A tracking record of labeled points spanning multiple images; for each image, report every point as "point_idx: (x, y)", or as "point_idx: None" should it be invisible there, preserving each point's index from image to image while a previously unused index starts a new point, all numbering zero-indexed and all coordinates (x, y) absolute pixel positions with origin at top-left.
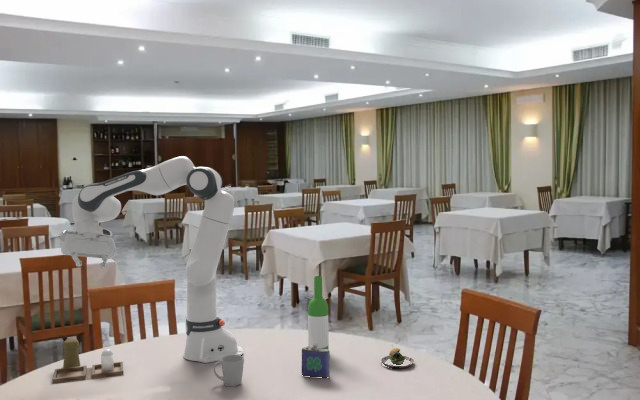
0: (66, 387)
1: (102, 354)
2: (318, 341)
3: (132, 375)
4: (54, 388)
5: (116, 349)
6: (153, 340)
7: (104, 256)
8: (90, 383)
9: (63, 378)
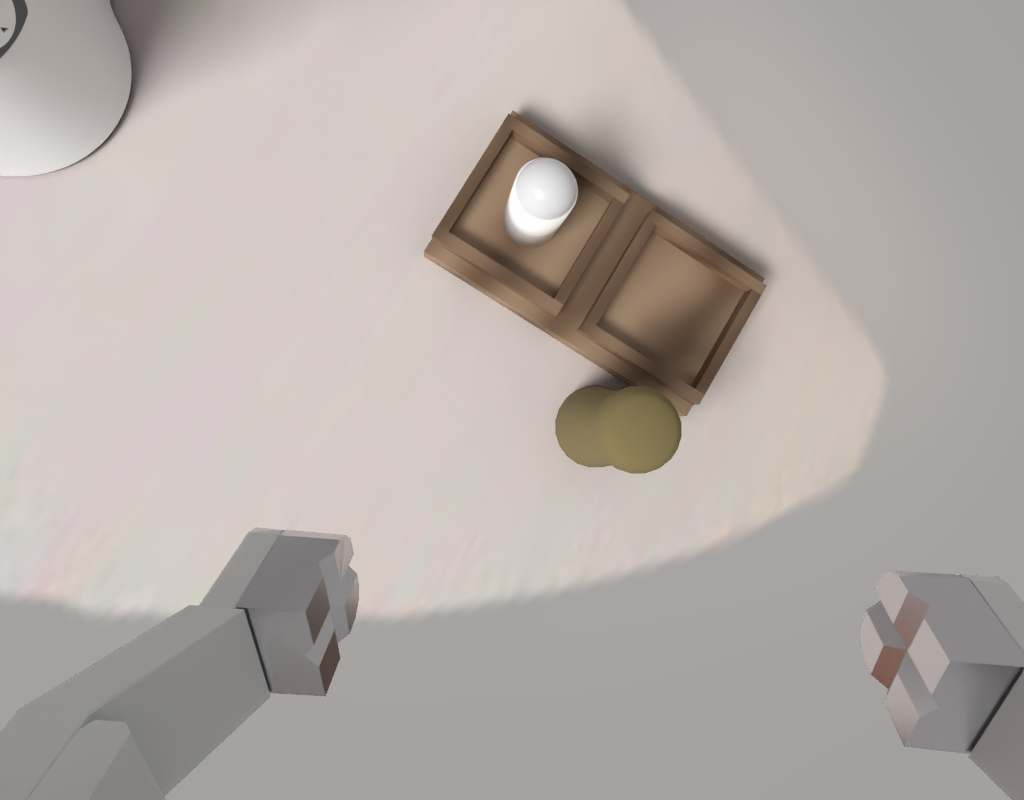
0: None
1: (576, 188)
2: None
3: (453, 133)
4: None
5: None
6: (16, 534)
7: (95, 795)
8: None
9: (727, 261)
